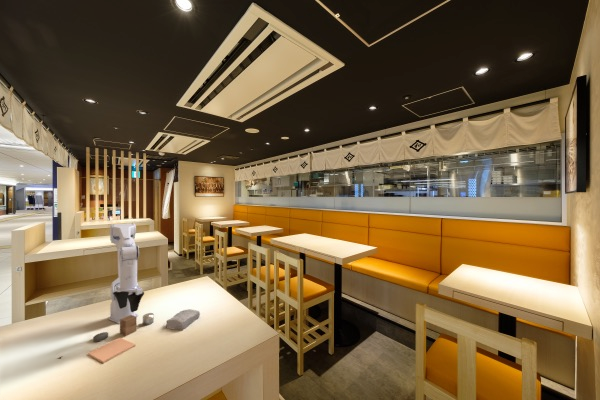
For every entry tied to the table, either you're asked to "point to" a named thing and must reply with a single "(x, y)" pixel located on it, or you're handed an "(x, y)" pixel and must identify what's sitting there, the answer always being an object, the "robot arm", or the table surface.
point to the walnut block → (128, 325)
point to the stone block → (183, 319)
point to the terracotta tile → (111, 350)
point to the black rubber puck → (100, 337)
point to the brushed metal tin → (148, 319)
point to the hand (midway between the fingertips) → (128, 309)
